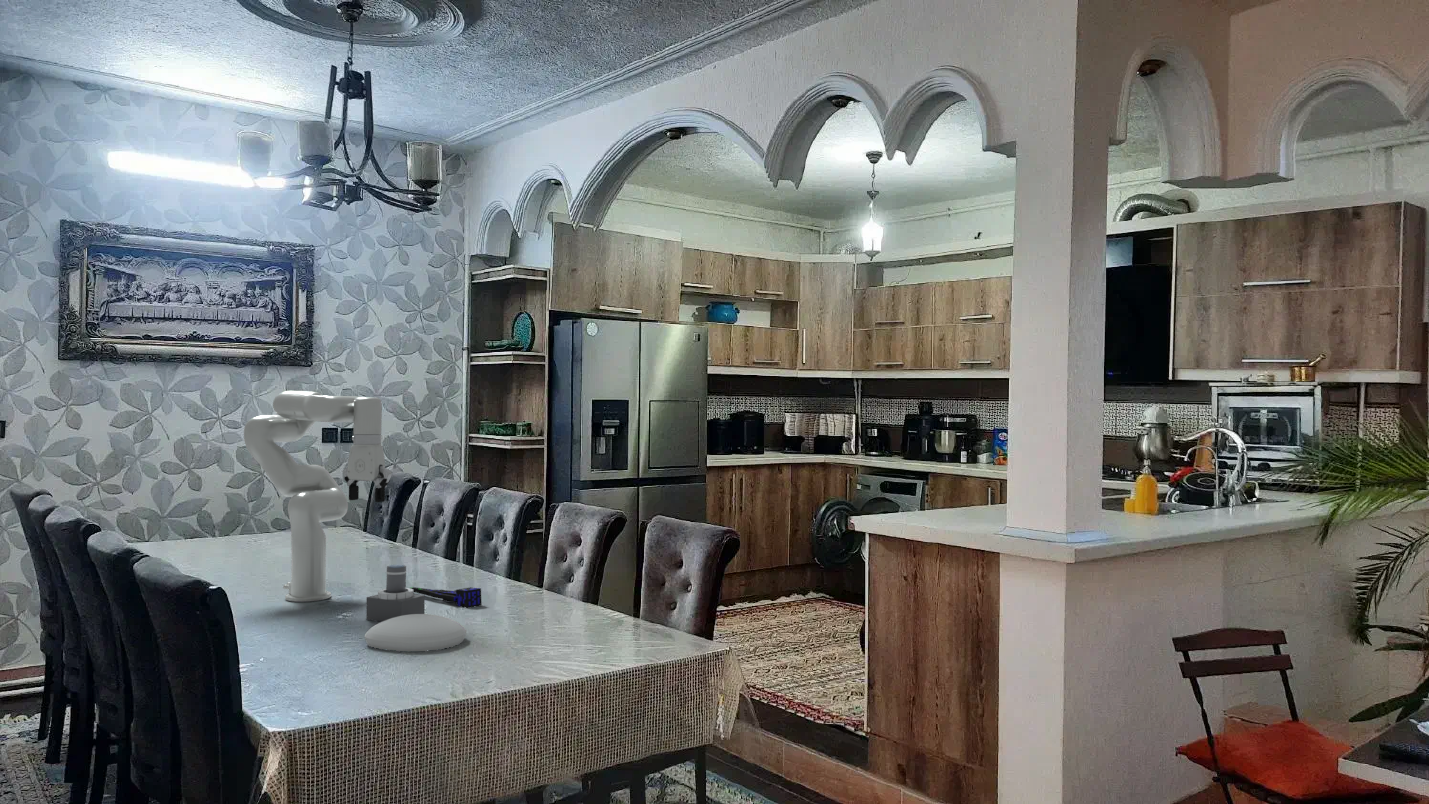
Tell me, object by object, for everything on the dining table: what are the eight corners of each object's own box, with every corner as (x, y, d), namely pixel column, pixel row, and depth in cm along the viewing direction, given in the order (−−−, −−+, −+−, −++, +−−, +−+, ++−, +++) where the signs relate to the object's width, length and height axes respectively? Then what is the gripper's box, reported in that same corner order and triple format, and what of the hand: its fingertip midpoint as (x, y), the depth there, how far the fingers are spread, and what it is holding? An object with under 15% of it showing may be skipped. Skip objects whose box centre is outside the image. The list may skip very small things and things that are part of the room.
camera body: (366, 619, 272) (366, 591, 272) (390, 613, 280) (390, 586, 280) (401, 624, 267) (401, 595, 267) (424, 617, 275) (424, 589, 275)
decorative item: (434, 657, 234) (481, 638, 253) (434, 627, 234) (481, 610, 253) (350, 648, 242) (401, 630, 261) (350, 619, 242) (402, 604, 261)
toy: (404, 602, 306) (463, 608, 287) (403, 585, 307) (463, 591, 287) (428, 598, 313) (488, 604, 293) (427, 582, 313) (487, 587, 294)
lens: (381, 596, 272) (382, 566, 272) (394, 593, 277) (395, 563, 276) (396, 598, 270) (397, 568, 270) (409, 595, 275) (410, 565, 275)
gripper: (334, 440, 288) (333, 500, 288) (381, 442, 281) (380, 503, 281) (353, 439, 295) (353, 498, 295) (400, 441, 288) (399, 501, 288)
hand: (366, 500), depth 288 cm, fingers open, 9 cm apart
